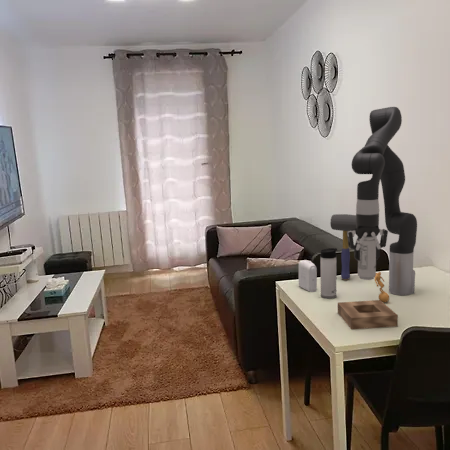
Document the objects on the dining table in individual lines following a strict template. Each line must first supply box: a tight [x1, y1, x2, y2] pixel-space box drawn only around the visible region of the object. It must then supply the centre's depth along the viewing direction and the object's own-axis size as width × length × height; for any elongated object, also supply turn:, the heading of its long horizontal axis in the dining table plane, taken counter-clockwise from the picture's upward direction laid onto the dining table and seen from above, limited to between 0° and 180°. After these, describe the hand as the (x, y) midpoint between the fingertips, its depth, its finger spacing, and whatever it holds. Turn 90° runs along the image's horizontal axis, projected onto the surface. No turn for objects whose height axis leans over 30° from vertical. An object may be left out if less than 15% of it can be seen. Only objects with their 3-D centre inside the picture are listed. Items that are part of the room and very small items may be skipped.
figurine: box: [374, 271, 390, 303], centre depth 192 cm, size 8×6×12 cm
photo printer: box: [298, 259, 318, 293], centre depth 212 cm, size 10×4×12 cm, turn 21°
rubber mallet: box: [329, 213, 356, 281], centre depth 221 cm, size 12×8×30 cm, turn 60°
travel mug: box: [320, 247, 338, 300], centre depth 200 cm, size 6×7×20 cm
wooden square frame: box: [337, 299, 399, 330], centre depth 175 cm, size 16×16×4 cm
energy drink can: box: [357, 237, 377, 281], centre depth 172 cm, size 6×6×15 cm
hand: (366, 259), depth 172 cm, fingers closed on energy drink can, 6 cm apart
